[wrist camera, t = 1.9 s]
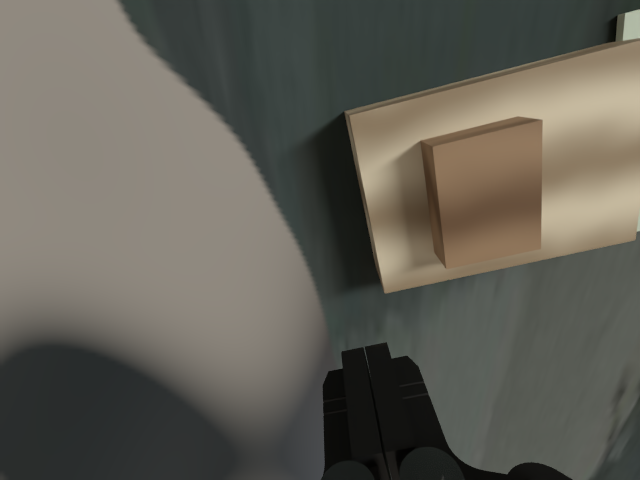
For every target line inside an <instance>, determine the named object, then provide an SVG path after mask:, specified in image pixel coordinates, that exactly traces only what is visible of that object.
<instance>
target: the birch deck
mask: <svg viewBox="0 0 640 480" xmlns="http://www.w3.org/2000/svg"><path fill="white" fill-rule="evenodd" d="M344 113H345V118H346V123H347V128H348V132H349V137H350V142H351V147H352V152H353V157H354V162H355V167H356V172H357V177H358V182H359V186H360V191H361V196H362V201H363V206H364V211H365V216H366V221H367V226H368V231H369V235H370V240H371V245H372V250H373V255H374V260H375V265H376V269H377V272H378V275H379V278H380V281H381V284H382V287H383V290H384V293H390V292H394V291H399V290H404V289H408V288H413V287H418V286H422V285H427V284H432V283H436V282H441V281H446V280H451V279H455V278H460V277H465V276H469V275H474V274H479V273H483V272H488V271H493V270H497V269H502V268H507V267H511V266H516V265H521V264H526V263H530V262H535V261H540V260H544V259H549V258H554V257H558V256H563V255H568V254H572V253H577V252H582V251H587V250H591V249H596V248H601V247H605V246H610V245H615V244H619V243H624V242H629V241H633V240H636V232H637V225H638V217H639V209H640V38H637V39H630V40H624V41H617V42H611V43H606V44H602V45H598V46H594V47H590V48H586V49H582V50H579V51H575V52H571V53H567V54H563V55H559V56H555V57H552V58H548V59H544V60H540V61H536V62H532V63H528V64H525V65H521V66H517V67H513V68H509V69H505V70H502V71H498V72H494V73H490V74H486V75H482V76H478V77H475V78H471V79H467V80H463V81H459V82H455V83H451V84H448V85H444V86H440V87H436V88H432V89H428V90H425V91H421V92H417V93H413V94H409V95H405V96H401V97H398V98H394V99H390V100H386V101H382V102H378V103H374V104H371V105H367V106H363V107H359V108H355V109H351V110H347V111H344ZM517 116H520V117H527V118H534V119H541V120H543V132H542V218H541V249H539V250H534V251H529V252H525V253H520V254H516V255H511V256H506V257H502V258H497V259H492V260H488V261H483V262H478V263H474V264H469V265H465V266H460V267H455V268H451V269H446V268H445V267H444V265H443V264H442V263H441V261H440V260H439V259H438V257H437V256H436V254H435V253H434V247H433V239H432V231H431V223H430V215H429V207H428V199H427V191H426V183H425V175H424V167H423V159H422V151H421V143H420V140H425V139H429V138H433V137H437V136H441V135H445V134H449V133H453V132H457V131H461V130H465V129H469V128H473V127H477V126H481V125H485V124H489V123H493V122H497V121H501V120H505V119H509V118H513V117H517Z"/></svg>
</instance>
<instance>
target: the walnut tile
mask: <svg viewBox="0 0 640 480" xmlns="http://www.w3.org/2000/svg"><path fill="white" fill-rule="evenodd" d="M542 132H543V120H541V119H534V118H527V117H520V116H517V117H513V118H509V119H505V120H501V121H497V122H493V123H489V124H485V125H481V126H477V127H473V128H469V129H465V130H461V131H457V132H453V133H449V134H445V135H441V136H437V137H433V138H429V139H425V140H420V143H421V151H422V159H423V167H424V175H425V183H426V191H427V199H428V207H429V215H430V223H431V231H432V239H433V247H434V253H435V254H436V256H437V257H438V259H439V260H440V261H441V263H442V264H443V265H444V267H445V268H446V269H451V268H455V267H460V266H465V265H469V264H474V263H478V262H483V261H488V260H492V259H497V258H502V257H506V256H511V255H516V254H520V253H525V252H529V251H534V250H539V249H541V218H542Z"/></svg>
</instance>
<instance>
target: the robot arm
mask: <svg viewBox="0 0 640 480" xmlns="http://www.w3.org/2000/svg"><path fill="white" fill-rule="evenodd" d="M365 350H366V355H367V360H368V364H367V360H366V356H365V352H364V348H363V347H362V348H357V349H352V350H347V351H342V352H341V354H342V364H343V369H338V370H333V371H329V372H328V374H327V377H326V379H325V381H324V384H323V402H324V403H323V413H324V451H325V468H324V474H323V477H322V478H321V480H391V477H392V480H572V479H571V478H569V477H567V476H566V475H564V474H562V473H561V472H559V471H557V470H555V469H553V468H552V467H549V466H546V465H543V464H539V463H532V462H531V463H523V464H519V465H517V466H515V467H514V468H512V469H511V470H510V472H509V473H508V475H507V474H501V473H495V472H489V471H484V470H479V469H476V468H473V467H471V466H469V465H467V464H465V463H464V462H463V461H461V460H460V459H459V458H458V457H456V456H455V454H454V453H453V452H452V451H451V449H450V448H449V446H448V444H447V442H446V440H445V437H444V434H443V432H442V429H441V426H440V423H439V421H438V418H437V415H436V413H435V410H434V407H433V405H432V402H431V399H430V397H429V395H428V391H427V389H426V386H425V384H424V381H423V378H422V375H421V372H420V370H419V367H418V366H417V365H416V364H415V363H414V362H413V361H412V360H411V359H410V358H409V357H408V356H403V357H398V358H393V359H391V355H390V352H389V348H388V345H387V342H386V343H381V344H376V345H371V346H366V347H365ZM368 365H369V368H368ZM369 371H370V373H369ZM370 376H371V377H370ZM389 469H390V470H389ZM390 473H391V475H390Z"/></svg>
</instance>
